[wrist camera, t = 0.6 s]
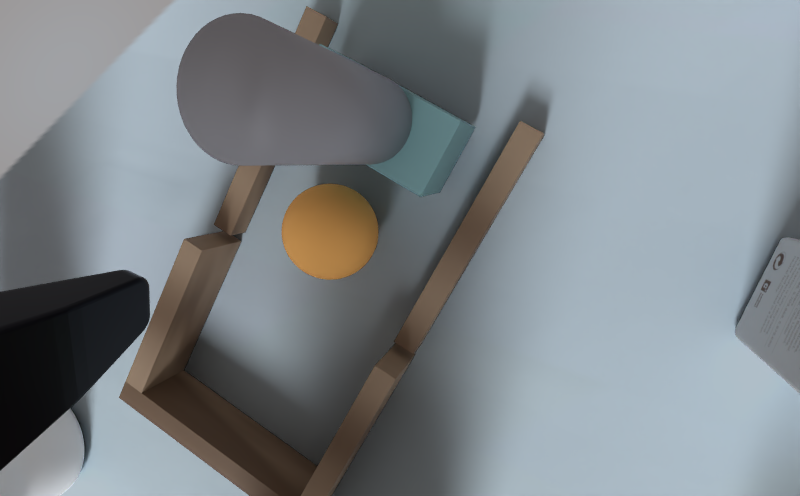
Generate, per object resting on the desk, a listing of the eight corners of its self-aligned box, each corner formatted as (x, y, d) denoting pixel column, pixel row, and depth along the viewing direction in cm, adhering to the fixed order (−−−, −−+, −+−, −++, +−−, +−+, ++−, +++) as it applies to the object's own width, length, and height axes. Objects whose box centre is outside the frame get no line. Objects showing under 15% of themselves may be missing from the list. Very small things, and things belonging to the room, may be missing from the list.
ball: (365, 286, 25) (329, 308, 21) (295, 241, 25) (247, 255, 22) (406, 210, 24) (375, 219, 20) (331, 165, 24) (288, 166, 20)
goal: (331, 496, 27) (303, 536, 24) (162, 374, 29) (118, 397, 26) (544, 134, 21) (541, 130, 19) (319, 13, 23) (285, -7, 20)
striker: (438, 194, 22) (320, 223, 12) (321, 126, 24) (112, 94, 13) (476, 124, 22) (387, 86, 11) (353, 57, 23) (158, -40, 12)
